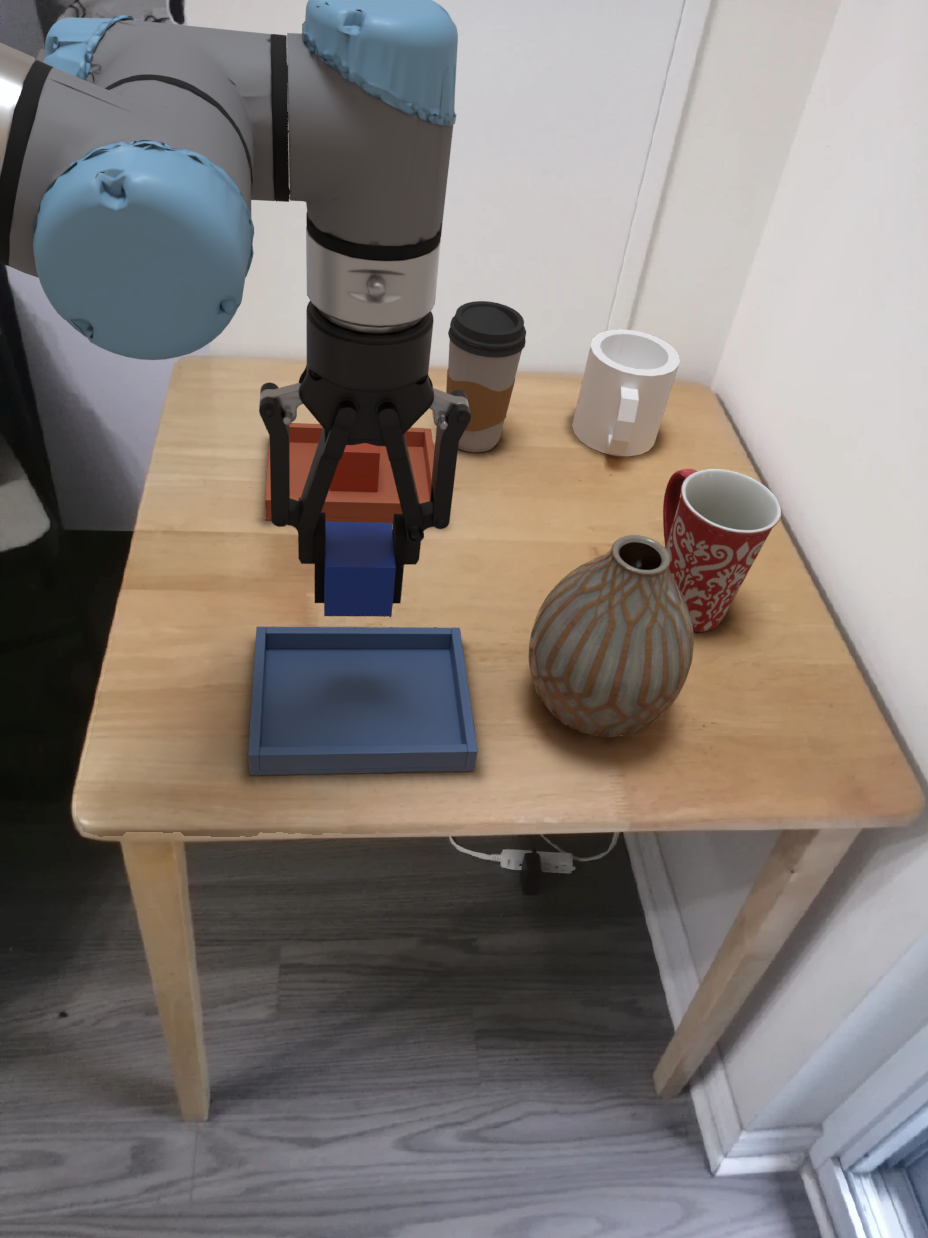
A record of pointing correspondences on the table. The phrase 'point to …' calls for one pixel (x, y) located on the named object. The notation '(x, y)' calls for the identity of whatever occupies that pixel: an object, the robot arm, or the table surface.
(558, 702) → the vase
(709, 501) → the mug
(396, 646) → the blue tray
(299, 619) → the table surface
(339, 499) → the terracotta tray
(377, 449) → the rust block
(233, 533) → the table surface
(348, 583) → the blue block
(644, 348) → the mug
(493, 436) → the coffee cup
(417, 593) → the table surface
